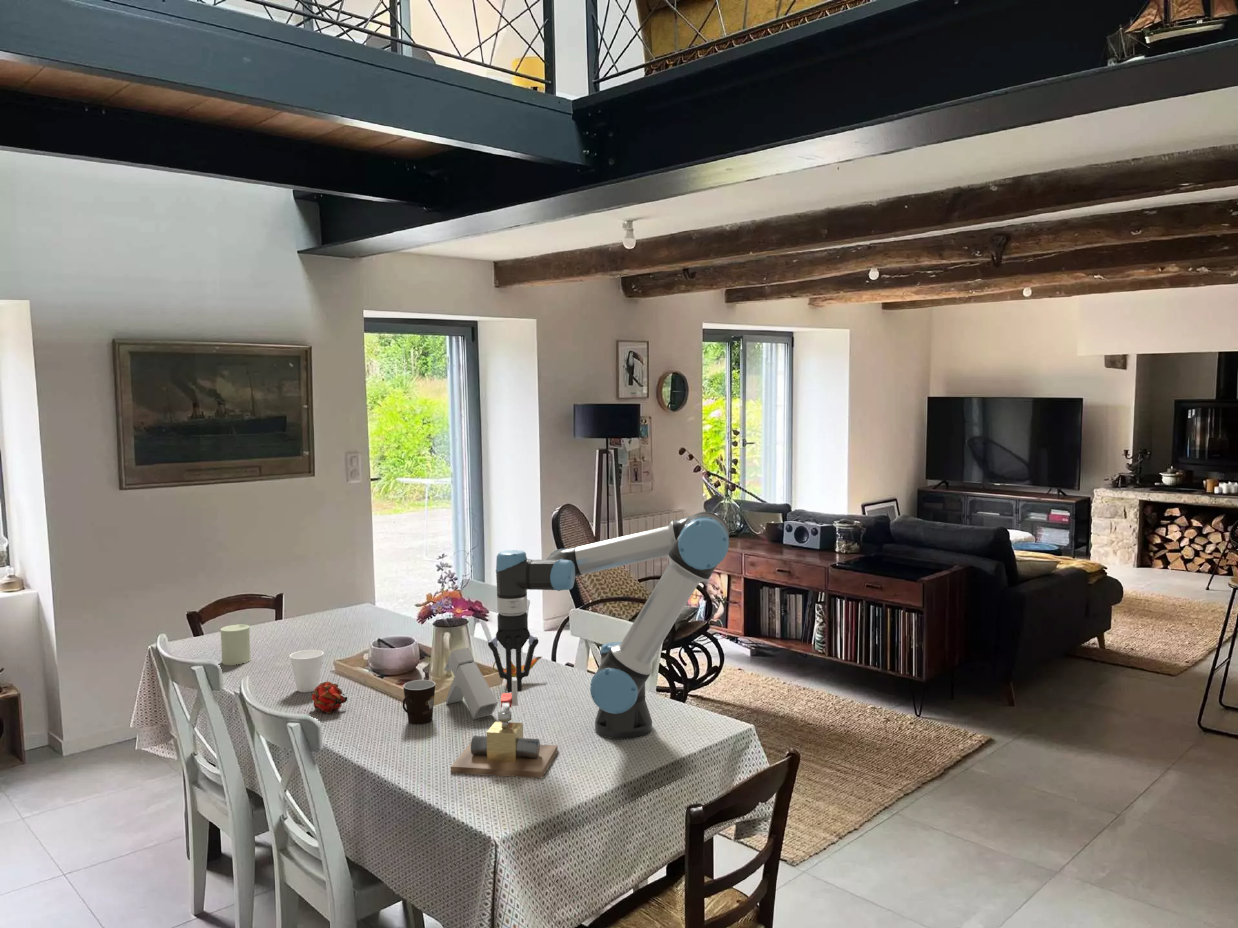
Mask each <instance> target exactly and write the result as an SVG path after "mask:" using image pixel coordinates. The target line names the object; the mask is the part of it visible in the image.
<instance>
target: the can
mask: <svg viewBox="0 0 1238 928" xmlns="http://www.w3.org/2000/svg"><path fill="white" fill-rule="evenodd" d="M250 628H251V626H250V625H248V624H241V623H239V624H230V625H226V626H223V627H221V628H220V643H221V645H220V646H221V664H222V663H223V664H222V665H224V666H239V665H238V664H240V665H243V664H242V663H244V664H247V663H249V662H251V661H252V657H251V639H250V638H251V637H250V636H251V635H250V634H251V633H250V630H251V629H250ZM250 660H251V661H250ZM248 661H249V662H248ZM246 662H247V663H246ZM236 664H237V665H236Z"/></svg>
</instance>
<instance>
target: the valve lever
mask: <svg viewBox="0 0 1238 928" xmlns="http://www.w3.org/2000/svg"><path fill="white" fill-rule="evenodd" d="M500 696H501V697H500V708H501V710H500V711H498V712H497V720H498V722H507V721H508V722H510V721H512V719H513V718H512V711H511V710H510V709H511V708H512V707H513V706H512V692H507V693H505V692H504V693H501V695H500Z"/></svg>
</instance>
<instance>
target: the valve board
mask: <svg viewBox="0 0 1238 928" xmlns="http://www.w3.org/2000/svg"><path fill="white" fill-rule="evenodd" d="M557 753H558V745H556V744H540V751H539V756H538V758H524V757H519V758H518V760H517V761H516V762H502V761H487V755H472V754H471V742H470V743H469V744H468V745H467V747H466V748H465V749H463V752H462V753H461V754H460V755H459V756H458V758H456V760H455V761H453V763H452V765H451V766H450V773H451V774H462V775H463V774H465V775H480V776H481V775H483V776H499V777H500V776H502V777H515V776H518V777H517V778H533V777H539V778H538V779H542V778H543V777H544V775H545V774H546V773H547V770H548V769H549V767H550V765H551V764H552V762H553V760H554V758H555V757H556V755H557ZM554 756H555V757H554ZM550 763H551V764H550ZM547 768H548V769H547ZM541 777H542V778H541Z"/></svg>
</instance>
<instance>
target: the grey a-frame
mask: <svg viewBox="0 0 1238 928" xmlns="http://www.w3.org/2000/svg"><path fill="white" fill-rule="evenodd" d="M444 671H445V672H450V671H451V672H452V674H453V675H454V677H453V679H452V681H451V684H450V687H449V690H448V692H447V696H446V697H445V698H446V699H445V704H446V705H449V704H454V703H459V702H462V701H463V700H464V701H465V703H466V705H467V707H468V708H467V709H468V710H469V712H470V715H471V717H472V720H477V719H481V718H485V717H488V716H491V715H493V713H494V712H495V711H496V709H497V708H496V707H497V705H498V699H497V698H496V696H495V695H494V693H493V691H492V690H491V688H490V686H489V684H488V682H487V681H486V679H485V677H484V676H483V674H482V671H481V670H480V668H479V667H478V664H477V663H476V662H475V660H474V657H473V654H472V652H471V650H470V648H469V647H463V648H459V649H455V650H452V651H451V653H450V654H449V657H448V658H447V662H446V665H445V667H444Z"/></svg>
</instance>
